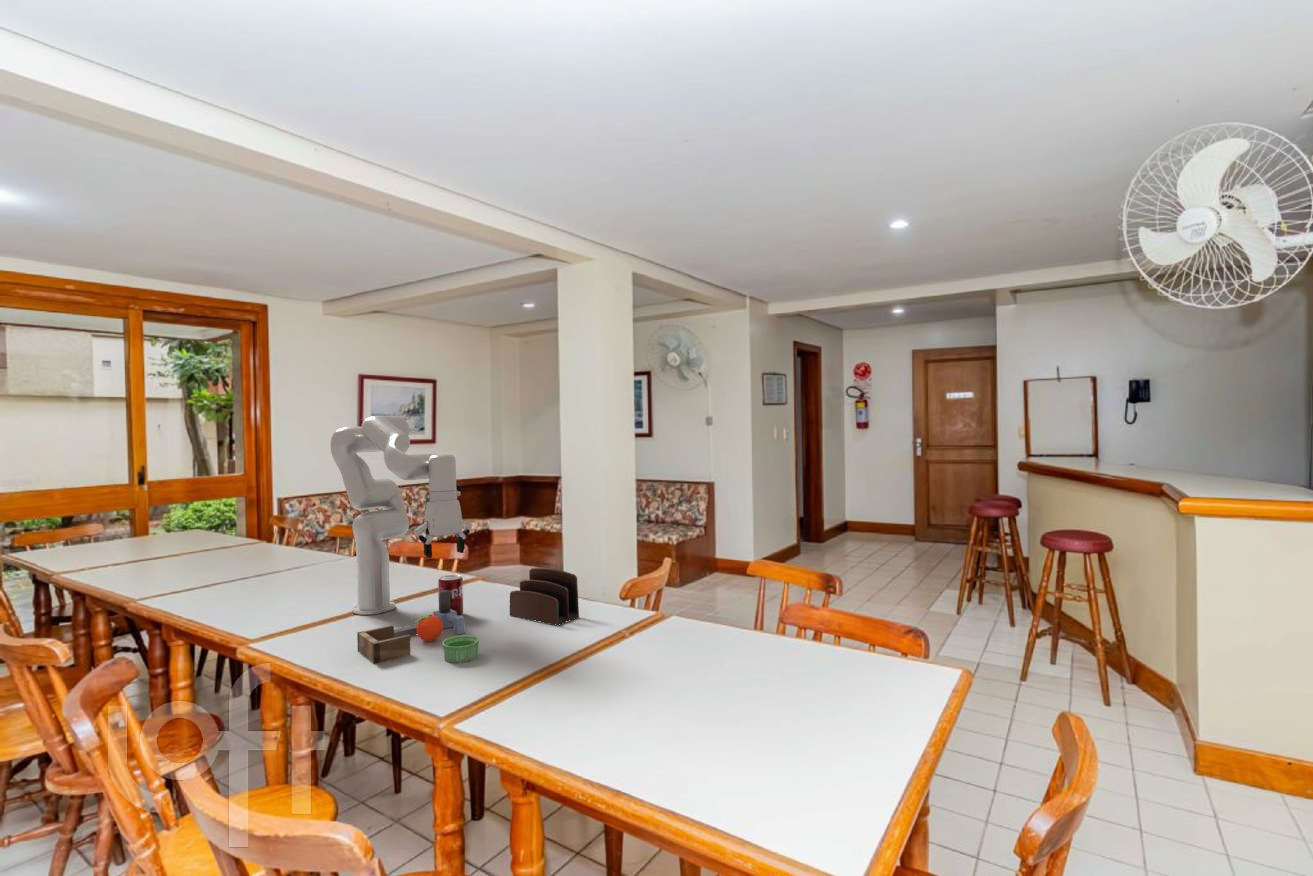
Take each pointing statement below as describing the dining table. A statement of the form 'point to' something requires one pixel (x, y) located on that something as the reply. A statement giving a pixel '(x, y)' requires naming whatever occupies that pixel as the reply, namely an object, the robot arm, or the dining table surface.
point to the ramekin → (460, 648)
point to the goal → (382, 644)
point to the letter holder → (546, 597)
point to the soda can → (453, 591)
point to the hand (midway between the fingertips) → (444, 554)
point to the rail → (405, 631)
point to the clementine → (429, 628)
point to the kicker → (449, 613)
